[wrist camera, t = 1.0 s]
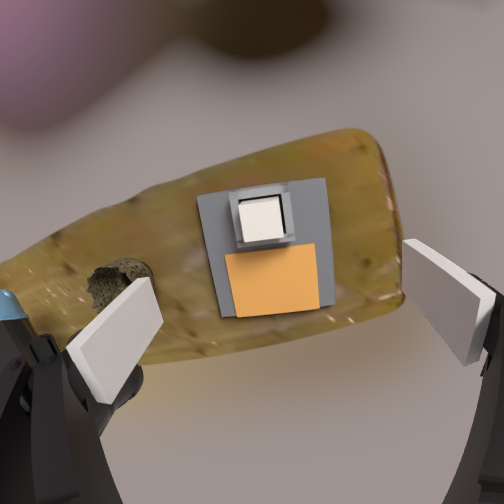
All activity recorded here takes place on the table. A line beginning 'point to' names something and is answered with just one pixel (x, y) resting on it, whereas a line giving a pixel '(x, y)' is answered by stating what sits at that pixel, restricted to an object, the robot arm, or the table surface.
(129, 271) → the cup
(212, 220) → the plate
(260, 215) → the button
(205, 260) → the table surface
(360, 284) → the table surface
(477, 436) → the robot arm
